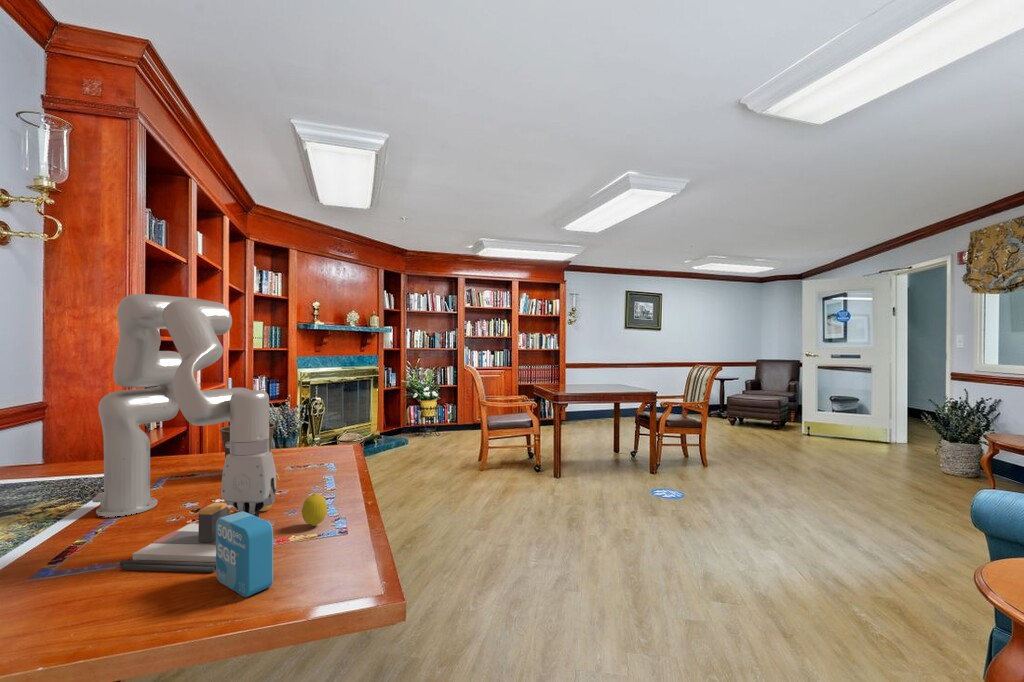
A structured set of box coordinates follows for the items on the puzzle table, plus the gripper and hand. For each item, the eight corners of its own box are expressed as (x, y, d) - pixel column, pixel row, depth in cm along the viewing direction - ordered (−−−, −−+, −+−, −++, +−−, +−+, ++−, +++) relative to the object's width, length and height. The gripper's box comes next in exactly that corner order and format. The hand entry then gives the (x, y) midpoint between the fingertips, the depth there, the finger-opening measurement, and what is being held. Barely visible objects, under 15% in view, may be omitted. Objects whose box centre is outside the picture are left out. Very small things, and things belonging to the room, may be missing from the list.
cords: (112, 570, 92) (112, 565, 92) (123, 564, 95) (123, 559, 95) (212, 573, 91) (212, 568, 91) (221, 567, 94) (221, 562, 94)
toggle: (198, 542, 102) (198, 510, 102) (214, 532, 107) (214, 502, 107) (211, 542, 102) (211, 510, 102) (227, 532, 107) (227, 502, 107)
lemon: (331, 523, 116) (331, 491, 116) (315, 532, 111) (315, 498, 110) (313, 520, 118) (313, 488, 118) (296, 529, 112) (296, 495, 112)
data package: (215, 580, 89) (215, 516, 89) (240, 570, 92) (240, 509, 92) (248, 600, 82) (247, 531, 82) (273, 589, 86) (273, 522, 86)
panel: (131, 559, 97) (131, 552, 97) (189, 528, 113) (189, 522, 113) (227, 562, 96) (227, 555, 96) (272, 530, 112) (272, 524, 112)
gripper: (205, 450, 100) (205, 537, 100) (273, 451, 99) (273, 539, 99) (228, 443, 108) (228, 523, 108) (292, 444, 107) (292, 525, 107)
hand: (250, 530), depth 104 cm, fingers closed
